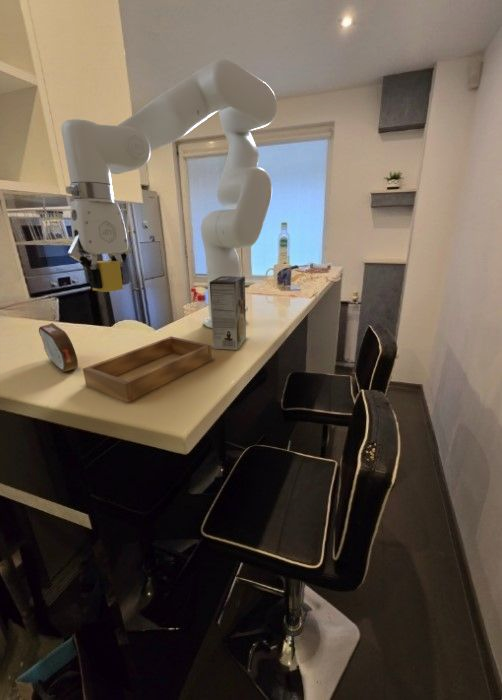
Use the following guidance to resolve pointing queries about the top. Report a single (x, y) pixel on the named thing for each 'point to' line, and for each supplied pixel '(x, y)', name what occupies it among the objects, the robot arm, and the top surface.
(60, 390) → the top surface
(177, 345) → the wooden tray
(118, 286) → the block
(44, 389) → the top surface
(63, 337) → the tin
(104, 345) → the top surface
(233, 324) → the coffee box
